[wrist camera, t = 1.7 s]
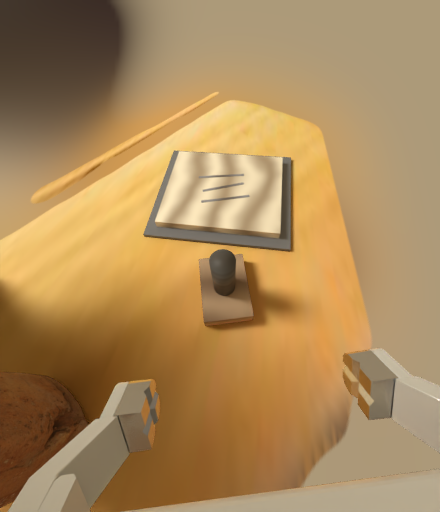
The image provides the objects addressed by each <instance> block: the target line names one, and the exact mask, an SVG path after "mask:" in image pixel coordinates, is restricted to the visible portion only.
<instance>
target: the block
mask: <svg viewBox="0 0 440 512" xmlns="http://www.w3.org/2000/svg"><path fill="white" fill-rule="evenodd" d="M87 426H88V423H87V421H86V420H85V417H84V414H83V412H82V409H81V407H80V405H79V404H78V402H77V401H76V399H75V398H74V397H73V395H72V394H71V393H70V392H69V391H68V390H67V389H66V388H65V387H64V386H63V385H62V384H61V383H59V382H57V381H56V380H55V379H53V378H51V377H48V376H42V375H35V374H26V373H13V372H0V508H1V507H3V506H5V505H7V504H9V503H11V502H13V501H15V499H16V498H17V496H18V495H19V493H20V492H21V490H22V488H23V487H24V485H25V484H26V482H27V481H28V479H29V478H30V477H31V476H32V475H33V474H34V473H35V472H37V471H38V470H39V469H40V468H41V467H42V466H43V465H44V464H46V463H47V462H48V461H49V460H50V459H51V458H52V457H53V456H55V455H56V454H57V453H58V452H59V451H60V450H61V449H62V448H64V447H65V446H66V445H67V444H68V443H69V442H70V441H71V440H73V439H74V438H75V437H76V436H77V435H78V434H79V433H80V432H82V431H83V430H84V429H85V428H86V427H87Z"/></svg>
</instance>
